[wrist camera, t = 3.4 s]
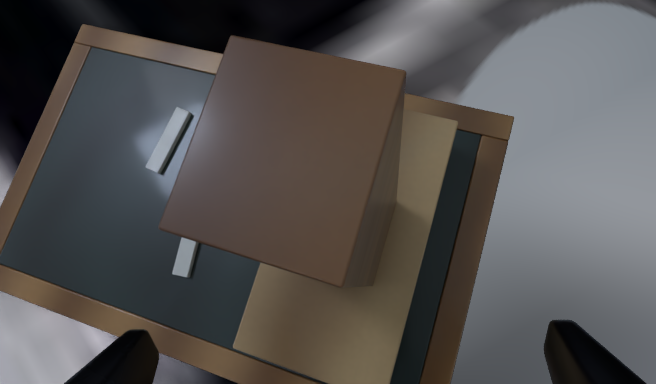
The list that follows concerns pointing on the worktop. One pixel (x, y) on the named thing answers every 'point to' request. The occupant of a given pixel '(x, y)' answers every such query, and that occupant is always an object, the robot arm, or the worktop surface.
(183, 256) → the chalk stick
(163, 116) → the chalkboard
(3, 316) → the worktop surface
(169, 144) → the light grey rectangular bar
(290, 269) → the eraser
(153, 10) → the worktop surface
